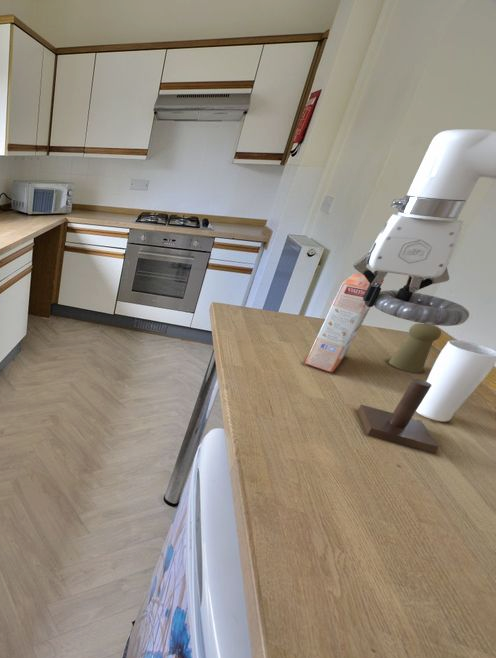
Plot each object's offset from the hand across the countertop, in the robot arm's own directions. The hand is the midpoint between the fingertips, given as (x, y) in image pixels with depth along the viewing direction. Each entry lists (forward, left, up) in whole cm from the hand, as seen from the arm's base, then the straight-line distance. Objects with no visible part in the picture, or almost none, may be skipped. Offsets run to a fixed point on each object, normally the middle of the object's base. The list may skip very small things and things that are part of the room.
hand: (381, 306), depth 79 cm
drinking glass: (-15, 0, -20) cm, 25 cm away
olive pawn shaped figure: (-17, -25, -20) cm, 36 cm away
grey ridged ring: (-5, 0, +1) cm, 5 cm away
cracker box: (0, -16, -20) cm, 26 cm away
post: (-7, +12, -20) cm, 24 cm away
